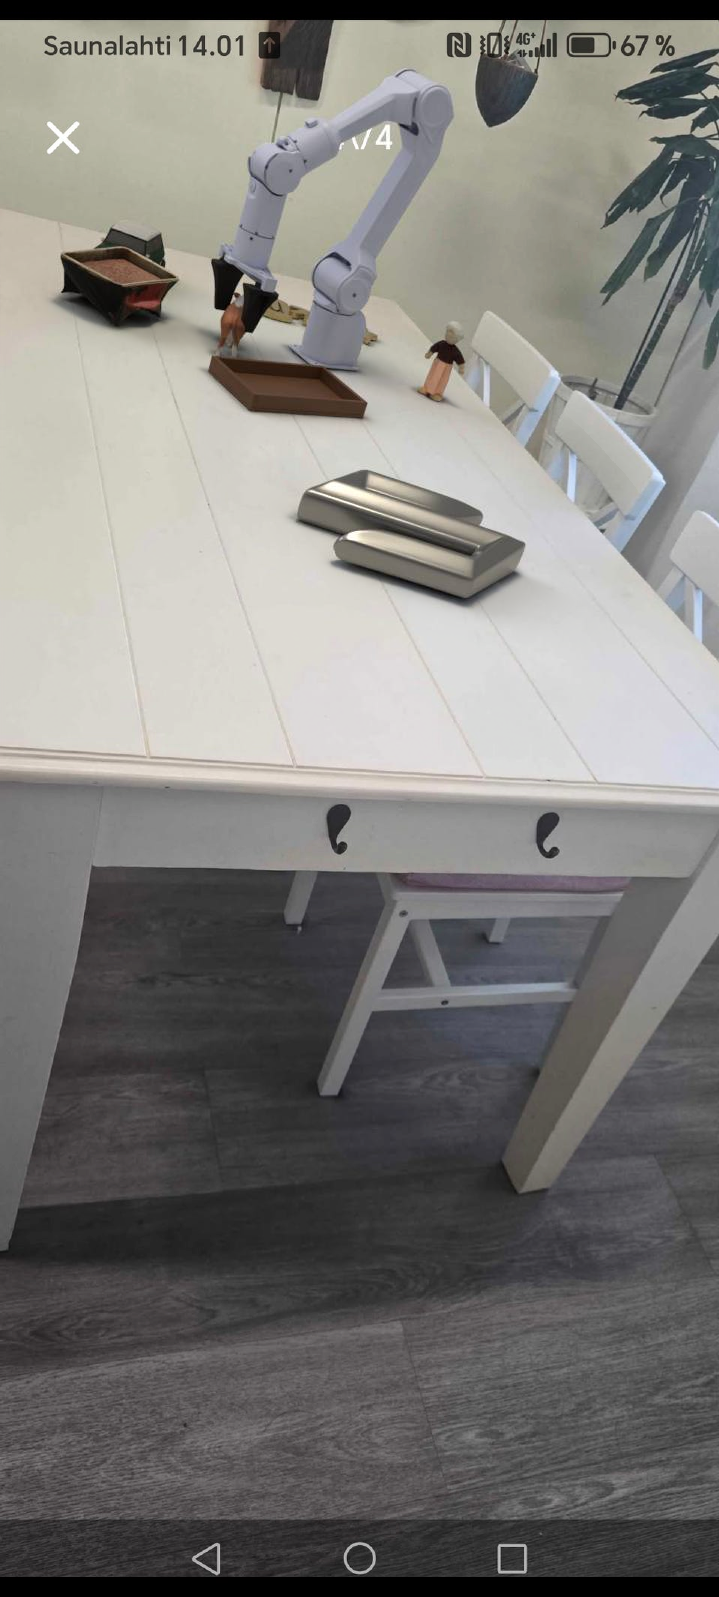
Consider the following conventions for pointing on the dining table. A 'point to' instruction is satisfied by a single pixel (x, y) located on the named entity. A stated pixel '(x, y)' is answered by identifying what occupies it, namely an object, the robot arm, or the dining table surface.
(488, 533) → the emblem
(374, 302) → the dining table surface
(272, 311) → the lettering
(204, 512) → the dining table surface
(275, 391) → the walnut tray
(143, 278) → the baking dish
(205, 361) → the dining table surface
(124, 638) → the dining table surface
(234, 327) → the bull figurine
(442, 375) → the grandmother figurine
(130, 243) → the miniature car
